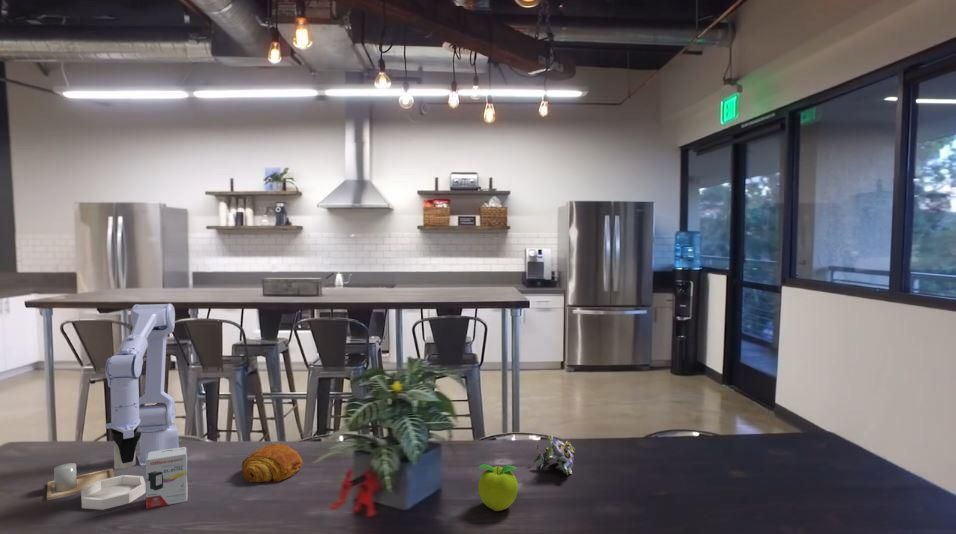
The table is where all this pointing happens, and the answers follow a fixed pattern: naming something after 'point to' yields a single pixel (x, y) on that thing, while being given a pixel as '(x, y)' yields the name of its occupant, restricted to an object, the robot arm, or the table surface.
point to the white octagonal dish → (112, 492)
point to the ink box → (166, 477)
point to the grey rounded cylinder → (118, 461)
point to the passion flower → (558, 454)
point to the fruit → (497, 486)
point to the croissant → (271, 463)
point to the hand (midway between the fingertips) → (126, 458)
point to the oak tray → (79, 483)
